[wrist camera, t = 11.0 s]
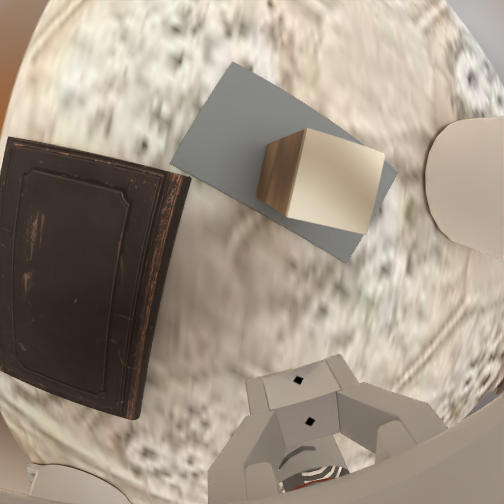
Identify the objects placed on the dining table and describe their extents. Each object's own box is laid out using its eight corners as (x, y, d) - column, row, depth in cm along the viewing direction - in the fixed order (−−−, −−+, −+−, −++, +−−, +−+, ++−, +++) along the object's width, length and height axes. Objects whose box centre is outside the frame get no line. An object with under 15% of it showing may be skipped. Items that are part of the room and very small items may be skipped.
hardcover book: (9, 359, 25) (-1, 370, 23) (21, 137, 20) (7, 136, 18) (141, 407, 28) (138, 422, 26) (192, 177, 23) (190, 177, 21)
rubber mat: (344, 262, 26) (346, 263, 26) (170, 163, 22) (169, 163, 22) (395, 171, 24) (398, 172, 24) (232, 63, 21) (232, 61, 20)
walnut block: (306, 207, 24) (366, 235, 14) (255, 196, 23) (287, 217, 14) (317, 157, 23) (385, 153, 13) (267, 144, 22) (307, 128, 13)
